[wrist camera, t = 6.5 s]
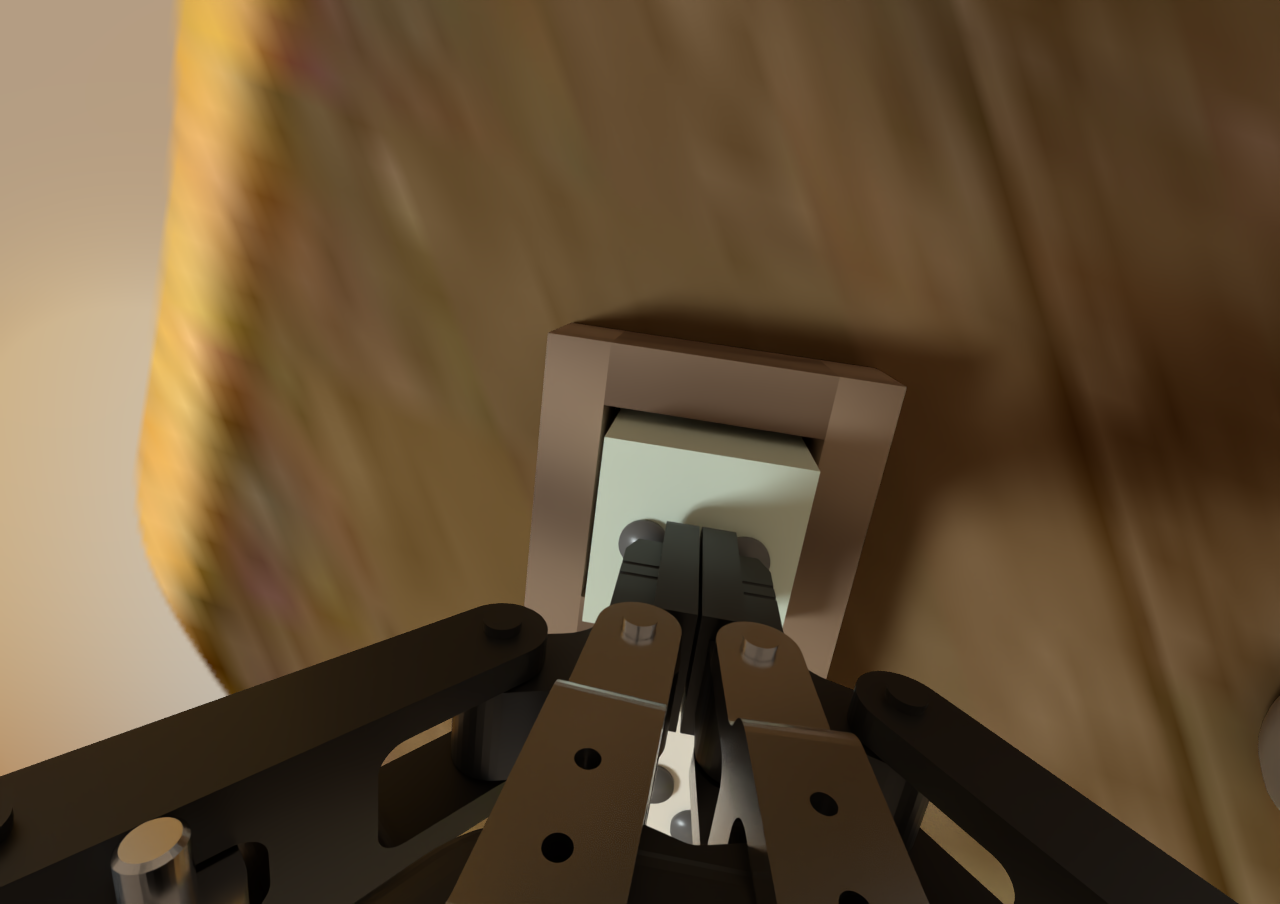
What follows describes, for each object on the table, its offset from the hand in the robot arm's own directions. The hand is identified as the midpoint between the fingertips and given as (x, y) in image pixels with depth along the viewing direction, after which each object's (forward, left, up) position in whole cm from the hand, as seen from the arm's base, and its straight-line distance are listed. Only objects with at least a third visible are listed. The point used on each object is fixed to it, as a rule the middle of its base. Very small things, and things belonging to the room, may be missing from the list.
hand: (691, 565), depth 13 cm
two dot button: (0, 0, -4) cm, 4 cm away
